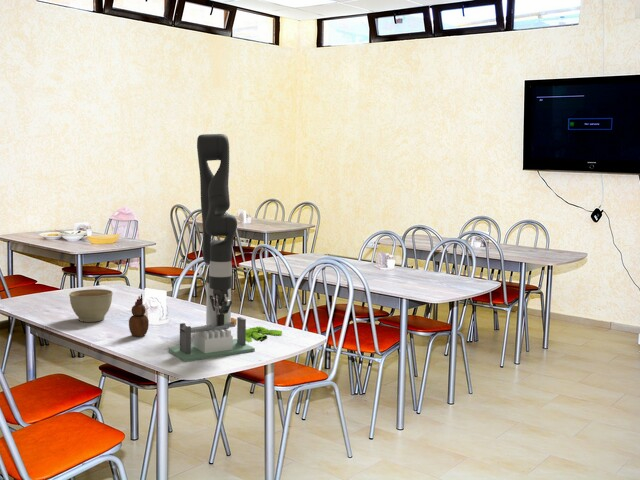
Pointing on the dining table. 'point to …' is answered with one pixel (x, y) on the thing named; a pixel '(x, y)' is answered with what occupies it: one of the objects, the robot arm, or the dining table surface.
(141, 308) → the wooden figurine
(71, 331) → the dining table surface
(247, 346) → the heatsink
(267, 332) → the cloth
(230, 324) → the wood-capped grey post
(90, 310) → the planter bowl
